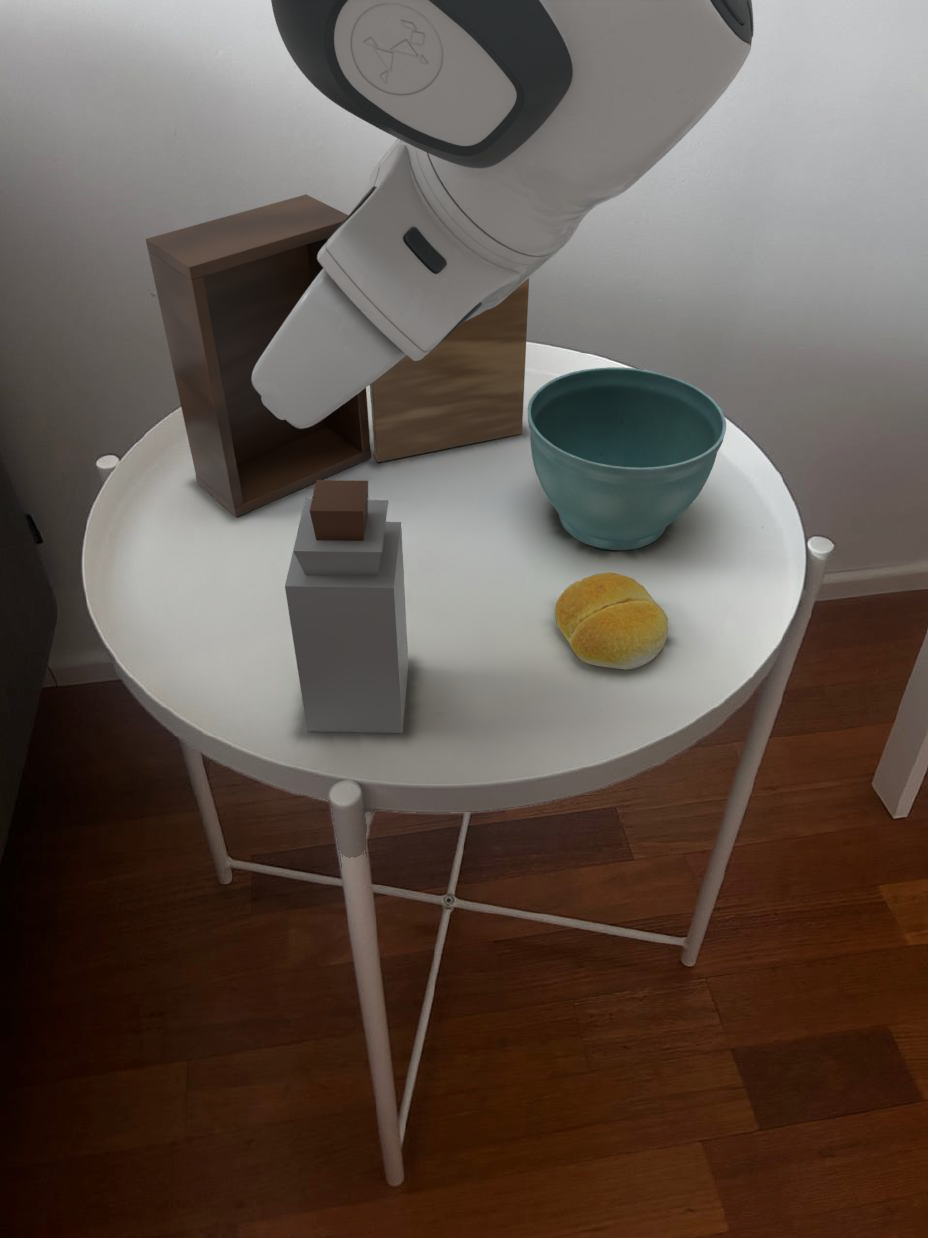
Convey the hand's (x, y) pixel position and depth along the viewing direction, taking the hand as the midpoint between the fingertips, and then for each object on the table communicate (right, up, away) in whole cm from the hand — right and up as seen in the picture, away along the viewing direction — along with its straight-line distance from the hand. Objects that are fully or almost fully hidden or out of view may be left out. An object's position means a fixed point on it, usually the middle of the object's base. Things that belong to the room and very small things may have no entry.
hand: (318, 361), depth 59 cm
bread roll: (+20, -16, +20) cm, 33 cm away
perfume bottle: (+1, -21, +15) cm, 26 cm away
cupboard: (-8, -1, +37) cm, 38 cm away
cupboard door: (+6, +4, +42) cm, 42 cm away
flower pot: (+22, -6, +31) cm, 39 cm away
